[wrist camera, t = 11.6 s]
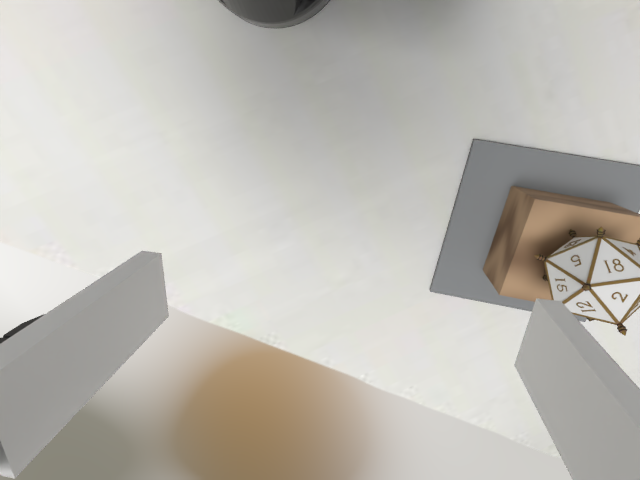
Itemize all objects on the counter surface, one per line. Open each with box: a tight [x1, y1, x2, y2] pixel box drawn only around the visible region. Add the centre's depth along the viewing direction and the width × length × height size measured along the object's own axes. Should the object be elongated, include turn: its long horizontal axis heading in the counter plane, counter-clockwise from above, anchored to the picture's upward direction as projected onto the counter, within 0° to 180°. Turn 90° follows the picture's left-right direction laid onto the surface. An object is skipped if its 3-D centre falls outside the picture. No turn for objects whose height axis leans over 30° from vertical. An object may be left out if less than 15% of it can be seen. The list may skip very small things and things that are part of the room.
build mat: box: [430, 139, 640, 322], centre depth 40 cm, size 18×18×1 cm
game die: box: [534, 226, 640, 335], centre depth 30 cm, size 9×8×10 cm
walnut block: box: [483, 186, 640, 302], centre depth 37 cm, size 10×10×6 cm
